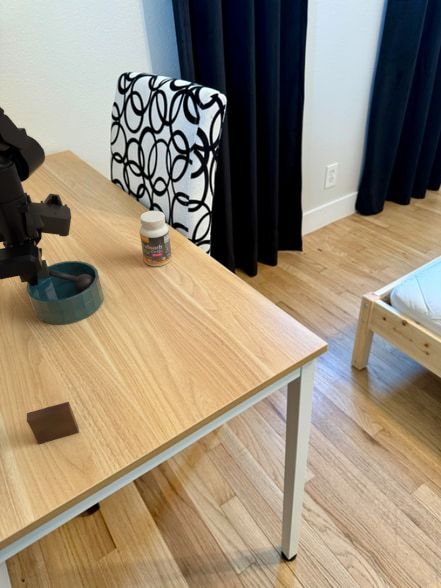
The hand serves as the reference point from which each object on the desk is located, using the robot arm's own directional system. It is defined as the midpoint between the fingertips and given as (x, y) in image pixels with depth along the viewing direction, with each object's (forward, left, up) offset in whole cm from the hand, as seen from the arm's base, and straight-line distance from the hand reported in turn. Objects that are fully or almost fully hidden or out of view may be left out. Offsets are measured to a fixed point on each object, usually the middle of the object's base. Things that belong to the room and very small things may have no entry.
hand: (35, 281), depth 73 cm
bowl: (+4, 0, -6) cm, 7 cm away
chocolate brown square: (+1, -28, -6) cm, 29 cm away
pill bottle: (+22, +8, -6) cm, 24 cm away
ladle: (+4, 0, -4) cm, 6 cm away
